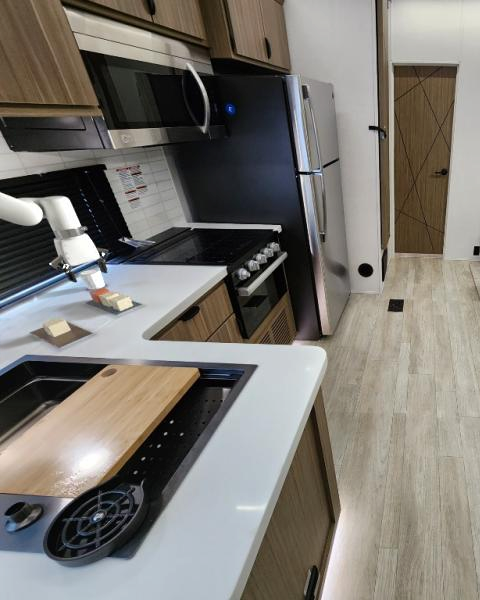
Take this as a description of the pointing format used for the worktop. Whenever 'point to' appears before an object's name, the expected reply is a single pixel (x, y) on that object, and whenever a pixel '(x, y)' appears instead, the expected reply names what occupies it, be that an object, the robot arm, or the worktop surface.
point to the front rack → (62, 335)
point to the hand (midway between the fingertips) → (89, 277)
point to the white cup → (92, 279)
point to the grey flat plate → (111, 309)
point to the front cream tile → (56, 327)
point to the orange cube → (98, 294)
